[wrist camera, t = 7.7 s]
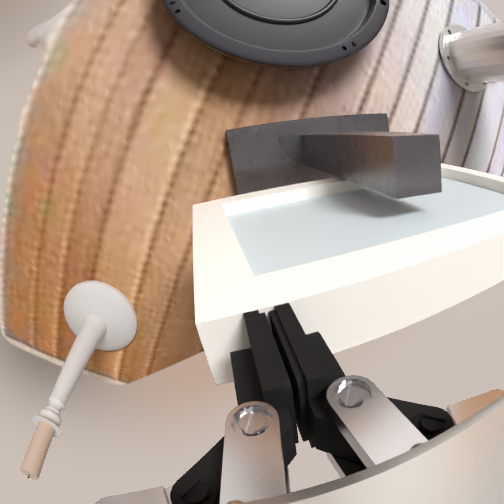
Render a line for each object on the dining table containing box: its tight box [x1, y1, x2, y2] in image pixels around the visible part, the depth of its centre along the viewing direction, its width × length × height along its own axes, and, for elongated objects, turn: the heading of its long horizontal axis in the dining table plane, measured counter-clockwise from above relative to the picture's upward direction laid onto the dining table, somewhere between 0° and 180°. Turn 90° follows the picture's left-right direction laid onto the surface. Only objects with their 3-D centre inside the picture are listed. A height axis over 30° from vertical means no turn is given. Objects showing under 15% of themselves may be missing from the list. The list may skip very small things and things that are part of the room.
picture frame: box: [193, 163, 504, 385], centre depth 21 cm, size 30×3×20 cm, turn 100°
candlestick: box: [20, 281, 137, 479], centre depth 30 cm, size 13×13×30 cm
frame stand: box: [226, 114, 442, 199], centre depth 28 cm, size 22×9×23 cm, turn 100°
